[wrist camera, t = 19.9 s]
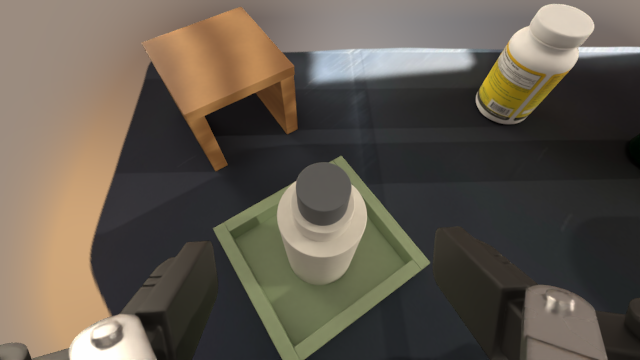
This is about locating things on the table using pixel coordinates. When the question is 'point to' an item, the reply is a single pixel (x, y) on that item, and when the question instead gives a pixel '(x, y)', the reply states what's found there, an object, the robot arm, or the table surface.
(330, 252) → the white bottle
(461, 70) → the table surface
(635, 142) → the soda can
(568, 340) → the robot arm
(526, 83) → the pill bottle
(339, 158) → the sage green tray
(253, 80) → the wooden stand
